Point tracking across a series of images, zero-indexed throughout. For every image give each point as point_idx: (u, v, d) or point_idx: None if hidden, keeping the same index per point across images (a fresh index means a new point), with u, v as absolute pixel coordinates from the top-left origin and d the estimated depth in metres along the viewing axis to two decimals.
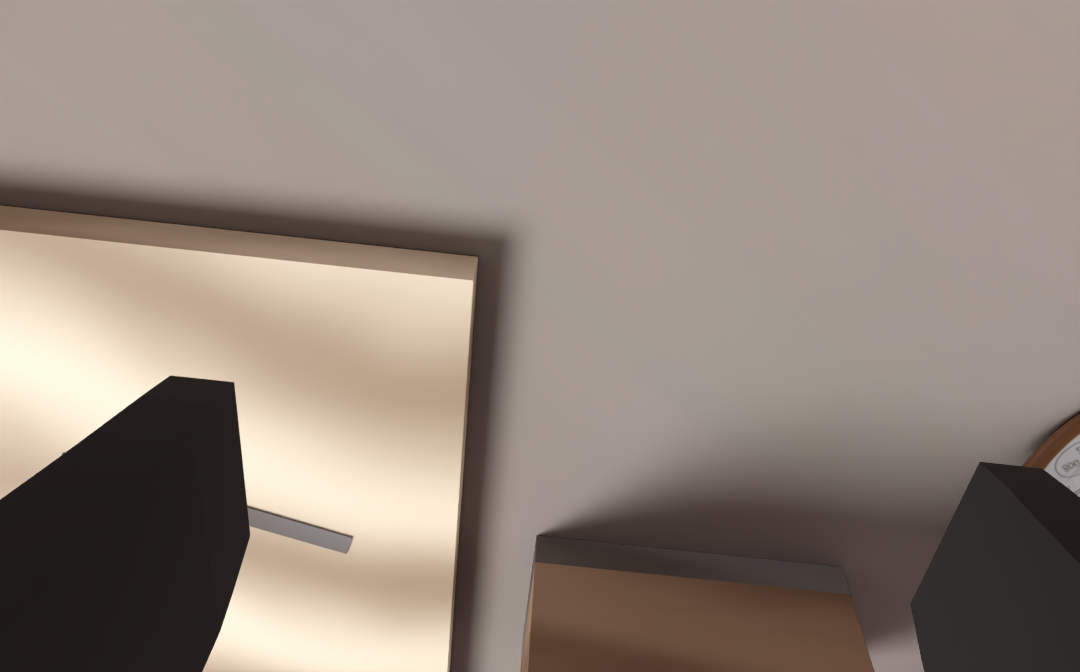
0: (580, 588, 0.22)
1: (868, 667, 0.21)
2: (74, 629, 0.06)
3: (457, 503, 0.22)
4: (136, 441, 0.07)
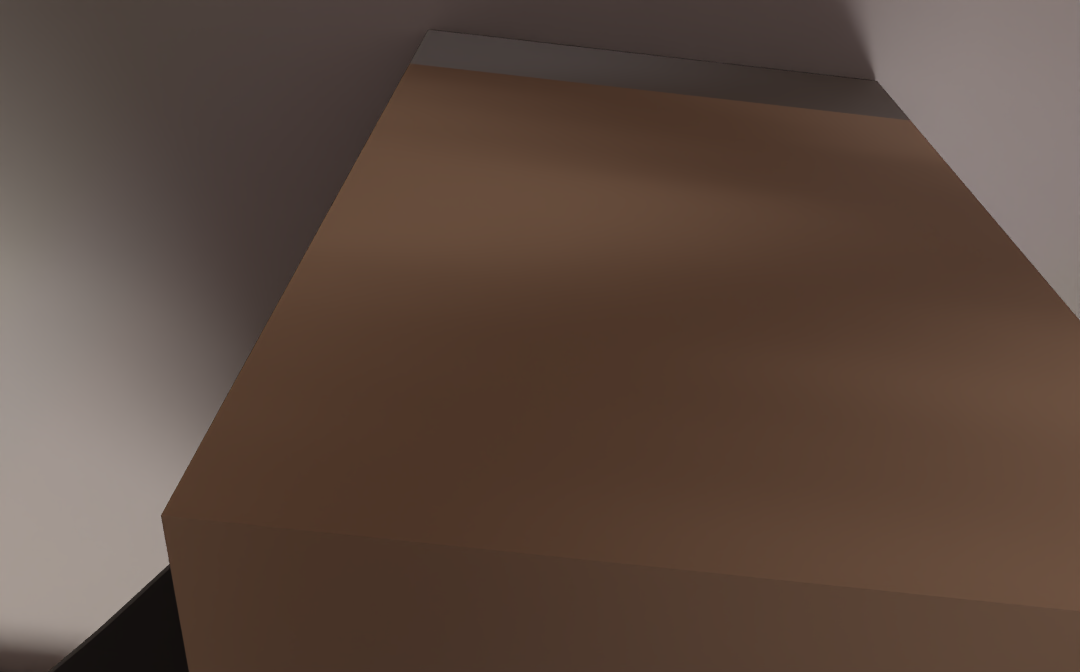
0: None
1: None
2: None
3: None
4: None
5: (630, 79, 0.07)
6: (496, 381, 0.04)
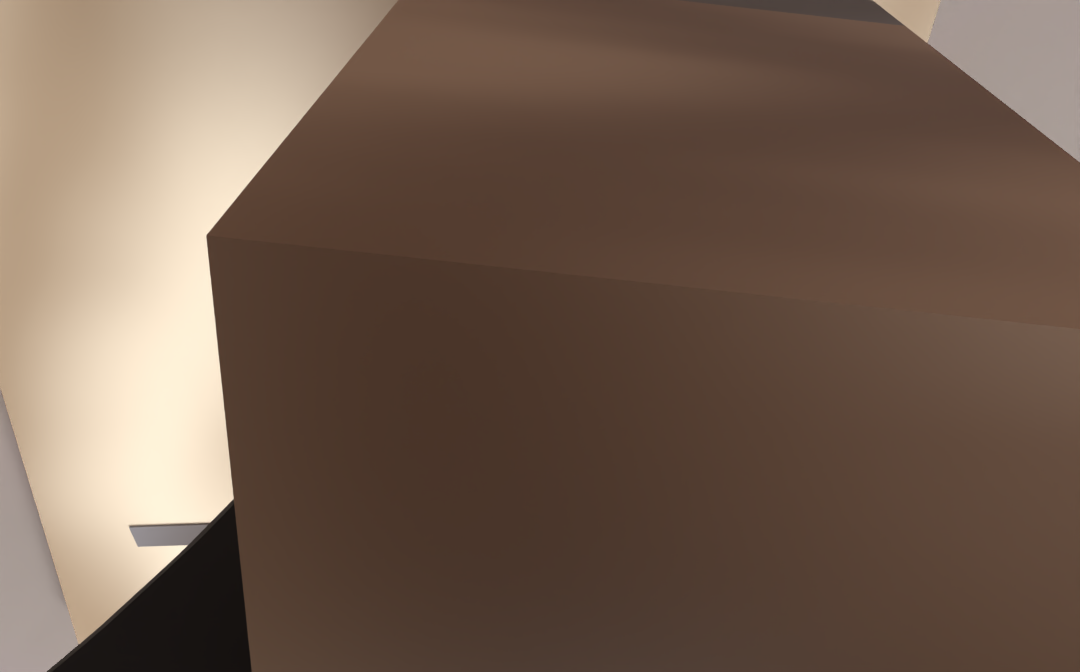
0: None
1: None
2: None
3: None
4: None
5: None
6: (517, 167, 0.04)
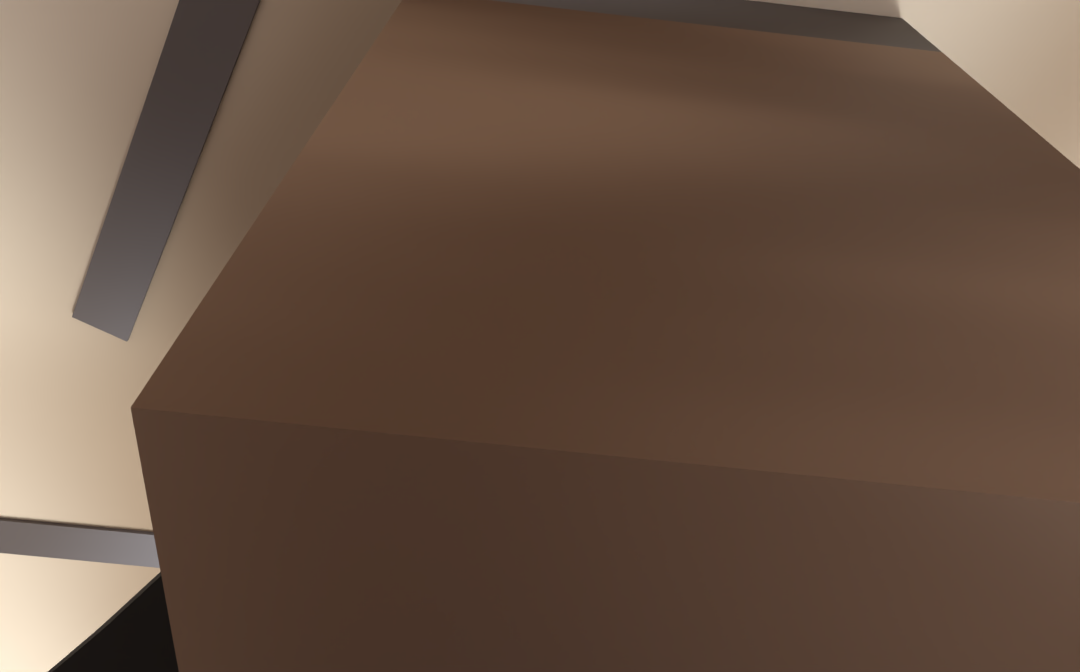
0: None
1: None
2: None
3: None
4: None
5: (643, 10, 0.07)
6: (520, 278, 0.03)
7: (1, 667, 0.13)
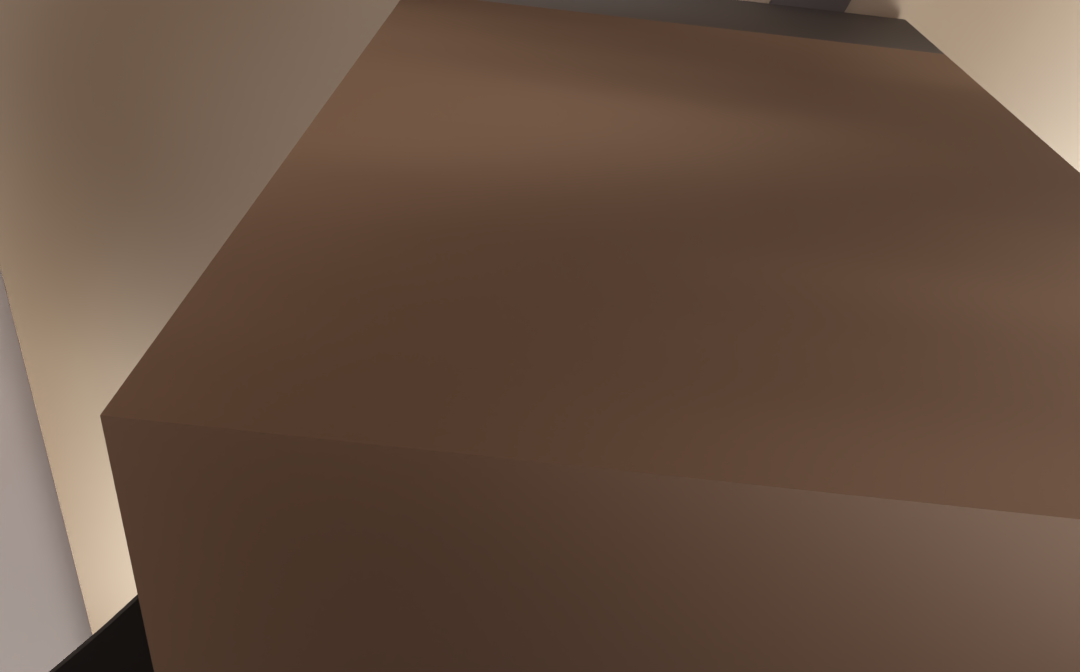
0: None
1: None
2: None
3: None
4: None
5: (642, 11, 0.07)
6: (506, 283, 0.03)
7: None
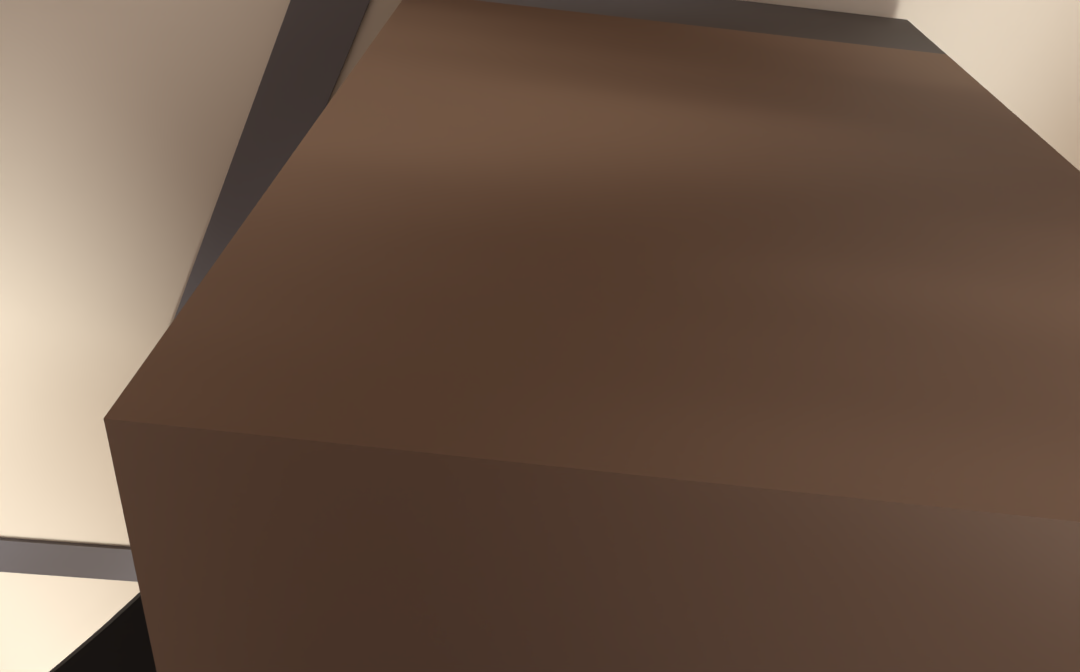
0: None
1: None
2: None
3: None
4: None
5: (644, 12, 0.07)
6: (506, 285, 0.03)
7: None
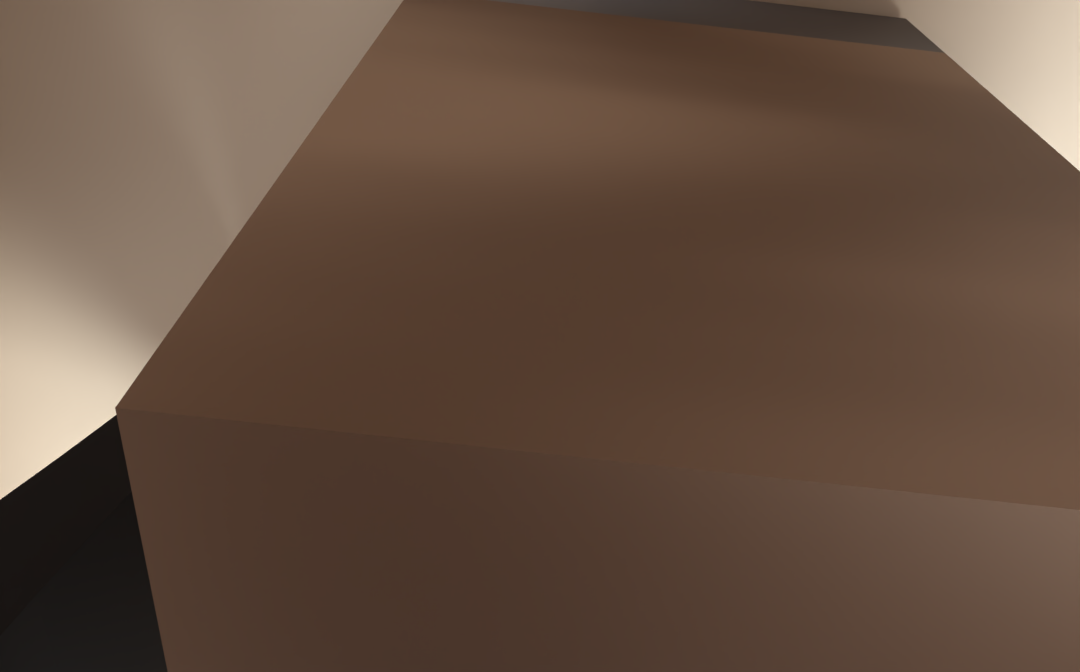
0: None
1: None
2: (74, 629, 0.06)
3: None
4: None
5: (646, 10, 0.07)
6: (509, 281, 0.03)
7: None
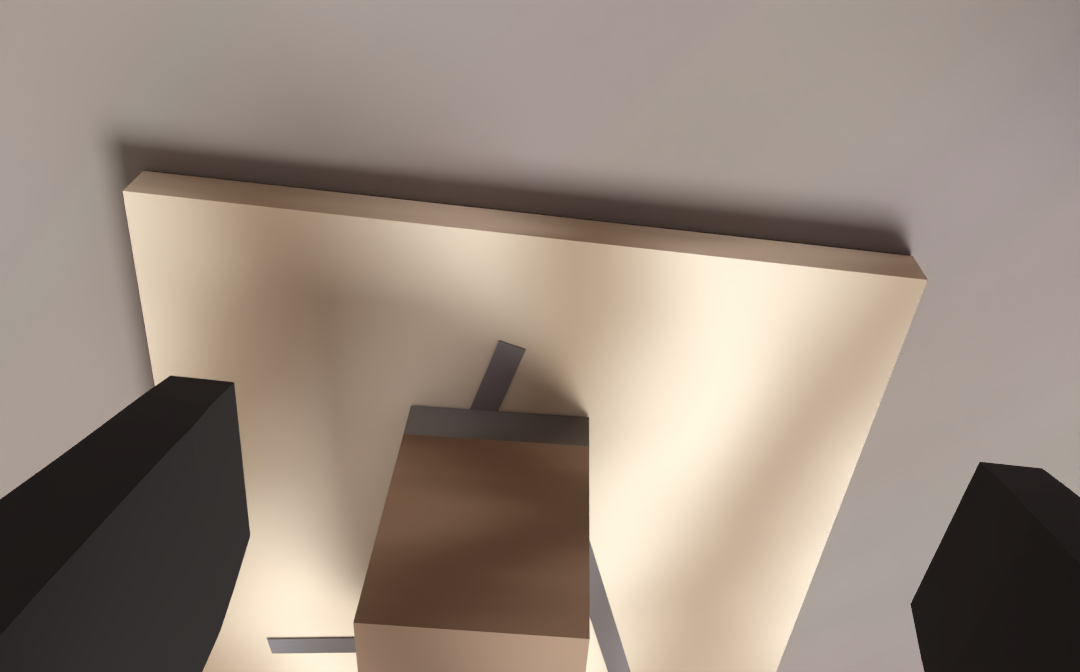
0: None
1: None
2: (74, 629, 0.06)
3: (434, 226, 0.18)
4: (136, 441, 0.07)
5: (486, 432, 0.20)
6: (422, 583, 0.16)
7: None
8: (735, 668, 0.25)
